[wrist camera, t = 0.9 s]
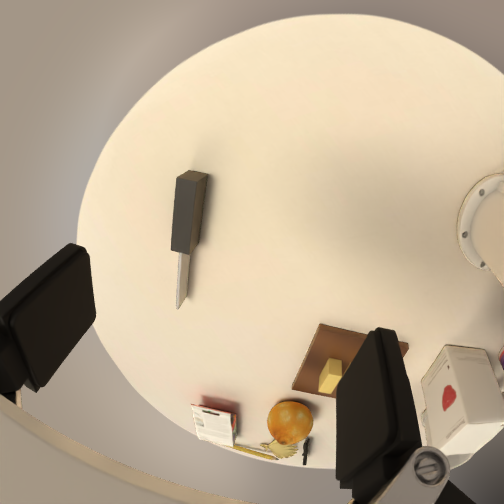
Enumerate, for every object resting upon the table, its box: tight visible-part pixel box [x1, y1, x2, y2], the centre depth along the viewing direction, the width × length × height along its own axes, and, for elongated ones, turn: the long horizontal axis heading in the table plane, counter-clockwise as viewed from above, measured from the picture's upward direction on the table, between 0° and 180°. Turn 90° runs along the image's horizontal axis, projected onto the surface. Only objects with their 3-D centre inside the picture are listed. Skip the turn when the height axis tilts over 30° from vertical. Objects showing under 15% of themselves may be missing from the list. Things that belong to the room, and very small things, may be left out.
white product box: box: [421, 345, 504, 455], centre depth 34 cm, size 9×9×15 cm
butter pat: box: [318, 358, 342, 394], centre depth 42 cm, size 4×2×3 cm, turn 169°
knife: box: [171, 170, 208, 309], centre depth 38 cm, size 18×2×4 cm, turn 169°
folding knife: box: [302, 438, 309, 465], centre depth 56 cm, size 10×1×3 cm, turn 5°
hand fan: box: [260, 439, 298, 459], centre depth 58 cm, size 12×9×2 cm
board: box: [292, 324, 409, 398], centre depth 44 cm, size 14×14×1 cm
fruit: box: [267, 401, 313, 445], centre depth 49 cm, size 8×8×8 cm
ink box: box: [191, 404, 237, 447], centre depth 56 cm, size 4×8×15 cm
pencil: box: [224, 445, 279, 460], centre depth 61 cm, size 1×14×1 cm
